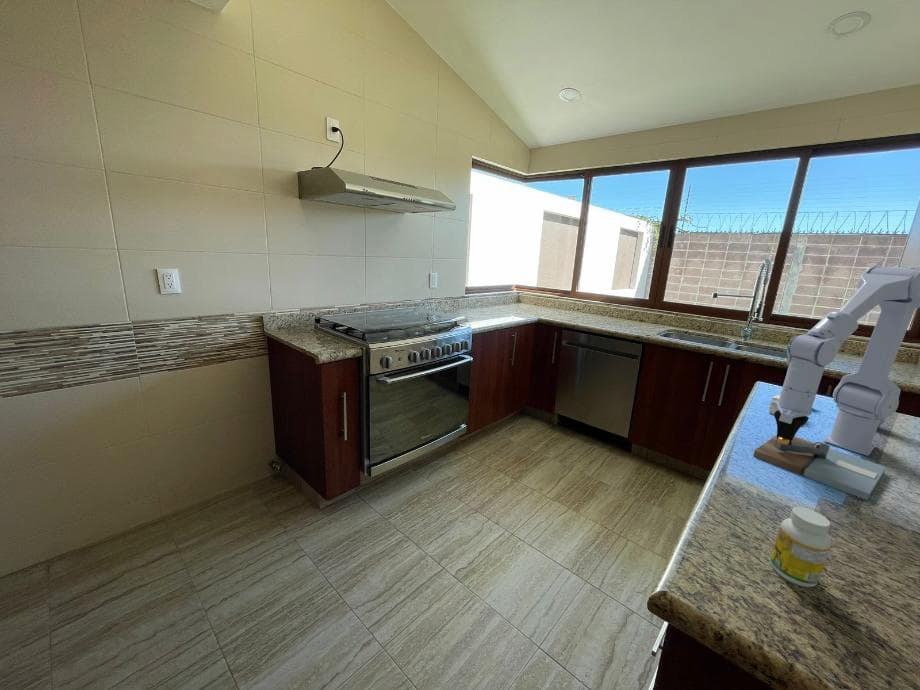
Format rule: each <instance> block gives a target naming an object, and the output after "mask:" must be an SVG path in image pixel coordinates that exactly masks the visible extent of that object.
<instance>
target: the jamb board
mask: <svg viewBox="0 0 920 690" xmlns="http://www.w3.org/2000/svg"><path fill="white" fill-rule="evenodd" d="M775 440H777V434H776V435H775V436H773V437H771V438H770V439H769V440H767V441H766V442H764V443H763V444H762V445H760V446H759V447H757V448H756V449H755V450H754V452H753V457H755V458H756V459H760V460H763V461H764V462H768V463H770V464H773V465H774V466H775V465H776V466H778V467H780V468H783V469H785V470H787V471H790V472H794V473H795V474H798V475H801V476H803V475H804V472H805V469H806V468H807V467H808V466H809V465H810V464H811V463H813V462H814V461H815V460H816V459H817V458H818V457H816V456H814V455H813V454H810V453H801V452H791V451H782V450H778V449H777V448H776V447H774V442H775ZM791 442H799V443H809V444H815V442H812V441H810V440H807V439H804V438H801V437H797V436H796V435H795V436H794V438H793V439H792V441H791Z"/></svg>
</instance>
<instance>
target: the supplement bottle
mask: <svg viewBox="0 0 920 690" xmlns="http://www.w3.org/2000/svg"><path fill="white" fill-rule="evenodd" d="M830 527H831V521H829V519H828V518H827V517H825V516H824V515H822V514H821V513H818V512H816V511H814V510H812V509H810V508H807V507H802V506H794V507H793V508H792V509H791V511H790V514H789V518H786V519H784V520H782V521H781V523H780V525H779V529H778V533H777V536H776V539H775V543H774V544H773V545H774V546H773V549H772V551H771V555H770V560H769V562H770V565H771V567H772V568H773V570H774V571H775V572H776V573H777V574H778V575H779V576H781V577H782V578H784V579H785V580H787V581H789V582H790V583H792V584H794V585H798V586H800V587H805V588H813V587H815V586H817V585H818V583H819V581H820V579H821V576H822V572H823V570H824V568H825V567H824V566H825V564H826V561H827V558H828V555H829V552H830V549H831V547H832V540H831V538H830V536H829V534H828V533H829V532H830V531H829V530H830Z"/></svg>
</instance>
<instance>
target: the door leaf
mask: <svg viewBox="0 0 920 690" xmlns="http://www.w3.org/2000/svg"><path fill="white" fill-rule="evenodd" d="M886 468H887V467H886V466H885V465H881V464H878V463H875V462H873V461H869V460H866V459H863V458H860V457H858V456H855V455H851V454H849V453H846V452H843V451H840V450H836V449H834V448H831V447H830V448H829V451H828V454H827V457H826V458H819V457H818V458H817V459H816V460H815V461H814V462H813V463H811V464H810V465H809V466H808V467H807V468H806V469H805V472H804V475H802V476H803V477H805V478H808V479H811V480H814V481H816V482H819V483H821V484H824V485H826V486H829V487H832V488H834V489H837V490H839V491H842V492H844V493H846V494H849V495H852V496H854V495H855V496H854V497H856V496H857V497H856V498H859V497H860V498H859V499H861V498H862V500H864V499H865V500H864V501H866V500H867V501H868V499H869V497H870V496H871V494H872V493H873V491H874V489H875V488H876V486H877V485H878V484H879V482H880V480H881V478H882V476H883V475H884V473H885V470H886Z"/></svg>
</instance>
